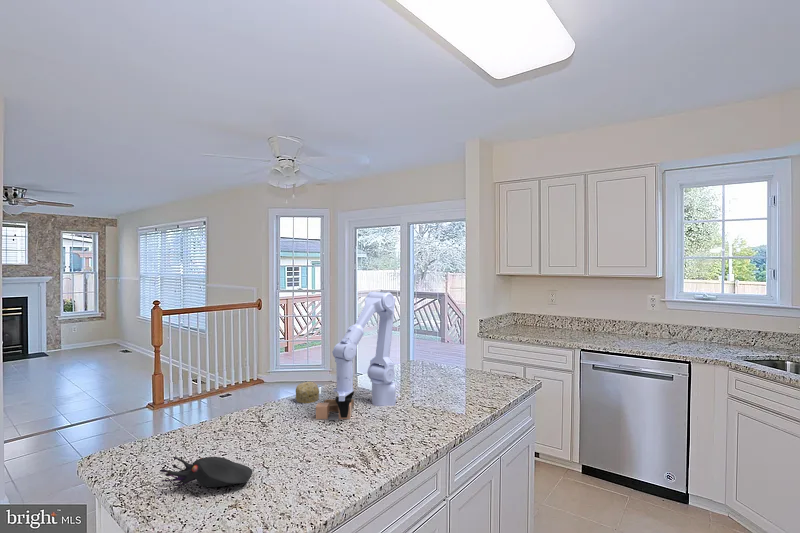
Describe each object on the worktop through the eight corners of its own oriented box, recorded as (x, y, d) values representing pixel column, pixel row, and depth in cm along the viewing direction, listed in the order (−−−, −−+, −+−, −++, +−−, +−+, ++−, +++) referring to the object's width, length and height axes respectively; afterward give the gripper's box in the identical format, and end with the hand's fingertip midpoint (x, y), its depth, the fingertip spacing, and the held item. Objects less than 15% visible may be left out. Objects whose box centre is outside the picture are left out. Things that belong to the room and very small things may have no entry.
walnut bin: (353, 406, 164) (353, 399, 163) (351, 413, 157) (351, 405, 156) (325, 407, 164) (325, 399, 164) (321, 413, 157) (321, 405, 157)
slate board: (351, 416, 154) (351, 413, 154) (349, 421, 149) (349, 419, 148) (319, 416, 154) (319, 414, 154) (315, 422, 149) (315, 419, 149)
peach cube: (351, 414, 153) (351, 402, 153) (350, 419, 149) (349, 406, 149) (340, 414, 153) (340, 402, 153) (338, 419, 149) (338, 406, 149)
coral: (316, 396, 176) (316, 378, 176) (321, 403, 168) (321, 384, 168) (294, 399, 173) (293, 381, 173) (297, 407, 164) (297, 387, 164)
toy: (166, 471, 112) (182, 436, 112) (241, 499, 114) (256, 464, 114) (147, 492, 102) (164, 454, 102) (230, 522, 104) (246, 484, 104)
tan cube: (329, 415, 153) (329, 402, 153) (327, 419, 149) (327, 406, 149) (318, 415, 153) (318, 402, 153) (316, 419, 149) (315, 406, 149)
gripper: (336, 371, 158) (337, 407, 158) (329, 382, 144) (330, 422, 144) (355, 371, 158) (356, 407, 158) (350, 382, 143) (350, 422, 144)
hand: (345, 414), depth 151 cm, fingers closed on peach cube, 4 cm apart
